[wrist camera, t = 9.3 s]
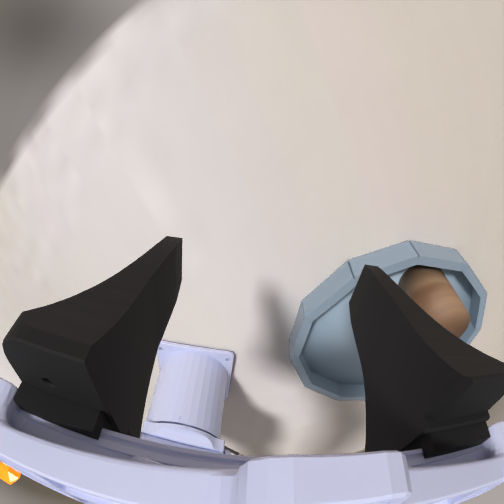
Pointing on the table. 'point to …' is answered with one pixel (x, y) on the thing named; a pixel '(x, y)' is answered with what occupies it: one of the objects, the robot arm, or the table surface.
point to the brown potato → (436, 297)
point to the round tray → (339, 323)
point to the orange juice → (8, 473)
